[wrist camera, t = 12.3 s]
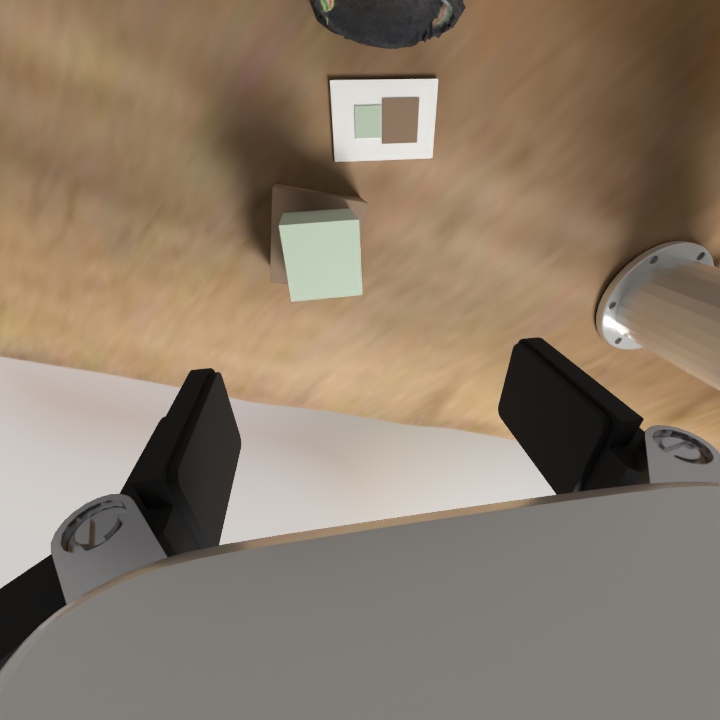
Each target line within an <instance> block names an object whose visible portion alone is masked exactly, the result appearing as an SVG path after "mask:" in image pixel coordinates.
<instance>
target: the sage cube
mask: <svg viewBox="0 0 720 720" xmlns="http://www.w3.org/2000/svg"><path fill="white" fill-rule="evenodd" d="M279 230H280V236H281V242H282V248H283V254H284V260H285V266H286V272H287V278H288V285H289V291H290V297H291V302H293V301H303V300H314V299H324V298H335V297H345V296H355V295H362V275H361V252H360V229H359V219H358V218H357V216H356V215H355V214H354V213H353V212H352V210H351V209H350V208H346V209H332V210H318V211H304V212H289V213H283V214H282V217H281V220H280V223H279Z"/></svg>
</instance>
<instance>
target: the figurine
mask: <svg viewBox="0 0 720 720" xmlns="http://www.w3.org/2000/svg"><path fill="white" fill-rule="evenodd" d="M310 1H311V4H312V7H313V10H314V13H315V16H316V18H317V21H318V22H319V23H320V24H322V25H323V26H324V27H326V28H327V29H328V30H330V31H331V32H333V33H335V34H338V35H343V36H344V38H345V39H351V40H353V41H356V42H358V43H360V44H363V45H367V46H372V47H379V48H389V49H392V48H395V49H397V48H401V47H411V46H414V45H416V44H417V43H418V42H419V41H422V40H423V41H424V42H426V40H427V39H429V40H430V39H431V38H432V37H433V36H436V37H437V38H439V37H440V36H441V34H442V33H443V32H446V31H448V30H449V29H451V28H453V27H454V25H455V24H456V22H457V21H458V18H459V17H460V16H461V14H462V12H463V11H464V9H465V6H464V4H463V0H310Z"/></svg>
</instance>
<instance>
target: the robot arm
mask: <svg viewBox="0 0 720 720" xmlns="http://www.w3.org/2000/svg"><path fill="white" fill-rule="evenodd" d="M596 326H597V330H598V333H599V334H600V336H601V338H602V339H603V340H605V341H606V342H607V343H609V344H610V345H612V346H614V347H617V348H620V349H628V350H629V349H638V348H642V347H644V348H646V349H648V350H649V351H651V352H653V353H655V354H656V355H658V356H660V357H662V358H663V359H665V360H667V361H669V362H670V363H672V364H674V365H676V366H677V367H679V368H681V369H683V370H684V371H686V372H688V373H689V374H691V375H693V376H695V377H696V378H698V379H700V380H702V381H703V382H705V383H707V384H709V385H710V386H712V387H714V388H716V389H717V390H719V391H720V268H718V267H714V263H713V258H712V256H711V254H710V253H709V251H708V250H707V249H706V248H704V247H703V246H701V245H698V244H695V243H691V242H686V241H671V242H668V243H664V244H660V245H658V246H656V247H653V248H651V249H649V250H647V251H646V252H644V253H642V254H641V255H639V256H638V257H636V258H635V259H634V260H633V261H631V262H630V263H629V264H627V265H626V266H625V267H624V268H623V269H622V270H621V271H620V272H619V273H618V274H617V275H616V277H615V278H614V279H613V281H612V282H611V283H610V284H609V286H608V288H607V289H606V291H605V293H604V294H603V296H602V299H601V301H600V303H599V306H598V310H597V314H596ZM498 412H499V415H500V417H501V419H502V420H503V422H504V423H505V424H506V426H507V427H508V429H509V430H510V431H511V433H512V434H513V435H514V437H515V438H516V440H517V441H518V442H519V444H520V445H521V446H522V448H523V449H524V450H525V452H526V453H527V455H528V456H529V457H530V459H531V460H532V461H533V463H534V464H535V465H536V467H537V468H538V470H539V471H540V472H541V474H542V475H543V476H544V478H545V479H546V481H547V482H548V483H549V485H550V486H551V487H552V489H553V490H554V491H555V493H556V494H557V495H552V496H545V497H538V498H530V499H524V500H516V501H509V502H502V503H495V504H488V505H481V506H474V507H468V508H460V509H453V510H446V511H439V512H432V513H425V514H418V515H412V516H404V517H398V518H391V519H384V520H377V521H371V522H364V523H357V524H351V525H344V526H337V527H331V528H324V529H317V530H311V531H304V532H297V533H291V534H285V535H278V536H272V537H266V538H260V539H255V540H249V541H242V542H236V543H230V544H225V545H219V542H220V537H221V533H222V529H223V524H224V519H225V515H226V511H227V507H228V502H229V498H230V493H231V489H232V484H233V480H234V476H235V471H236V467H237V462H238V458H239V454H240V449H241V438H240V434H239V431H238V427H237V424H236V421H235V418H234V414H233V411H232V408H231V405H230V401H229V398H228V395H227V391H226V388H225V385H224V382H223V378H222V375H221V374H220V373H219V372H216V373H215V371H214V370H213V369H212V368H208V369H198V370H191V371H190V372H189V374H188V376H187V378H186V380H185V382H184V384H183V385H182V387H181V389H180V391H179V393H178V395H177V397H176V398H175V400H174V402H173V404H172V406H171V408H170V410H169V411H168V413H167V415H166V417H163V418H162V419H161V420H160V422H159V423H158V425H157V427H156V429H155V431H154V433H153V434H152V436H151V438H150V440H149V441H148V443H147V445H146V447H145V449H144V450H143V452H142V454H141V456H140V458H139V460H138V461H137V463H136V465H135V467H134V469H133V470H132V472H131V474H130V476H129V478H128V479H127V481H126V483H125V485H124V487H123V489H122V490H121V492H120V494H110V495H107V496H103V497H100V498H97V499H95V500H93V501H91V502H89V503H87V504H85V505H83V506H82V507H81V508H79V509H78V510H76V511H75V512H73V513H72V514H71V515H70V516H69V517H68V518H67V519H66V520H65V521H64V522H63V523H62V524H61V526H60V527H59V528H58V530H57V531H56V532H55V535H54V537H53V539H52V542H51V555H49V556H48V557H47V558H45V559H44V560H42V561H41V562H39V563H38V564H36V565H35V566H33V567H32V568H30V569H29V570H27V571H26V572H24V573H23V574H21V575H20V576H18V577H17V578H16V579H14V580H13V581H11V582H10V583H8V584H7V585H5V586H4V587H2V588H1V589H0V720H720V454H719V452H718V451H717V450H716V449H715V448H714V447H713V446H712V445H711V444H710V443H708V442H707V441H705V440H703V439H702V438H700V437H698V436H696V435H694V434H692V433H690V432H688V431H685V430H682V429H679V428H676V427H671V426H663V425H656V426H652V427H649V428H648V429H647V430H646V431H645V432H644V431H643V430H642V429H640V428H639V426H640V425H641V423H642V421H643V418H642V417H641V416H640V415H638V414H637V413H636V412H634V411H633V410H632V409H631V408H629V407H628V406H627V405H626V404H624V403H623V402H622V401H621V400H619V399H618V398H617V397H615V396H614V395H613V394H612V393H610V392H609V391H608V390H607V389H605V388H604V387H603V386H602V385H600V384H599V383H598V382H596V381H595V380H594V379H593V378H591V377H590V376H589V375H588V374H586V373H585V372H584V371H583V370H581V369H580V368H579V367H577V366H576V365H575V364H574V363H572V362H571V361H570V360H569V359H567V358H566V357H565V356H564V355H562V354H561V353H560V352H558V351H557V350H556V349H555V348H553V347H552V346H551V345H550V344H548V343H547V342H546V341H545V340H543V339H542V338H527V339H521V340H520V341H519V342H518V344H516V345H515V346H514V347H513V351H512V355H511V359H510V363H509V367H508V370H507V374H506V378H505V382H504V386H503V390H502V394H501V398H500V402H499V406H498Z"/></svg>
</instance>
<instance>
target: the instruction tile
mask: <svg viewBox="0 0 720 720" xmlns="http://www.w3.org/2000/svg"><path fill="white" fill-rule="evenodd" d="M437 90H438V79H384V80H330V95H331V111H332V127H333V144H334V160H335V162H347V161H373V160H399V159H424V158H432V157H433V143H434V130H435V117H436V103H437Z"/></svg>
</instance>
